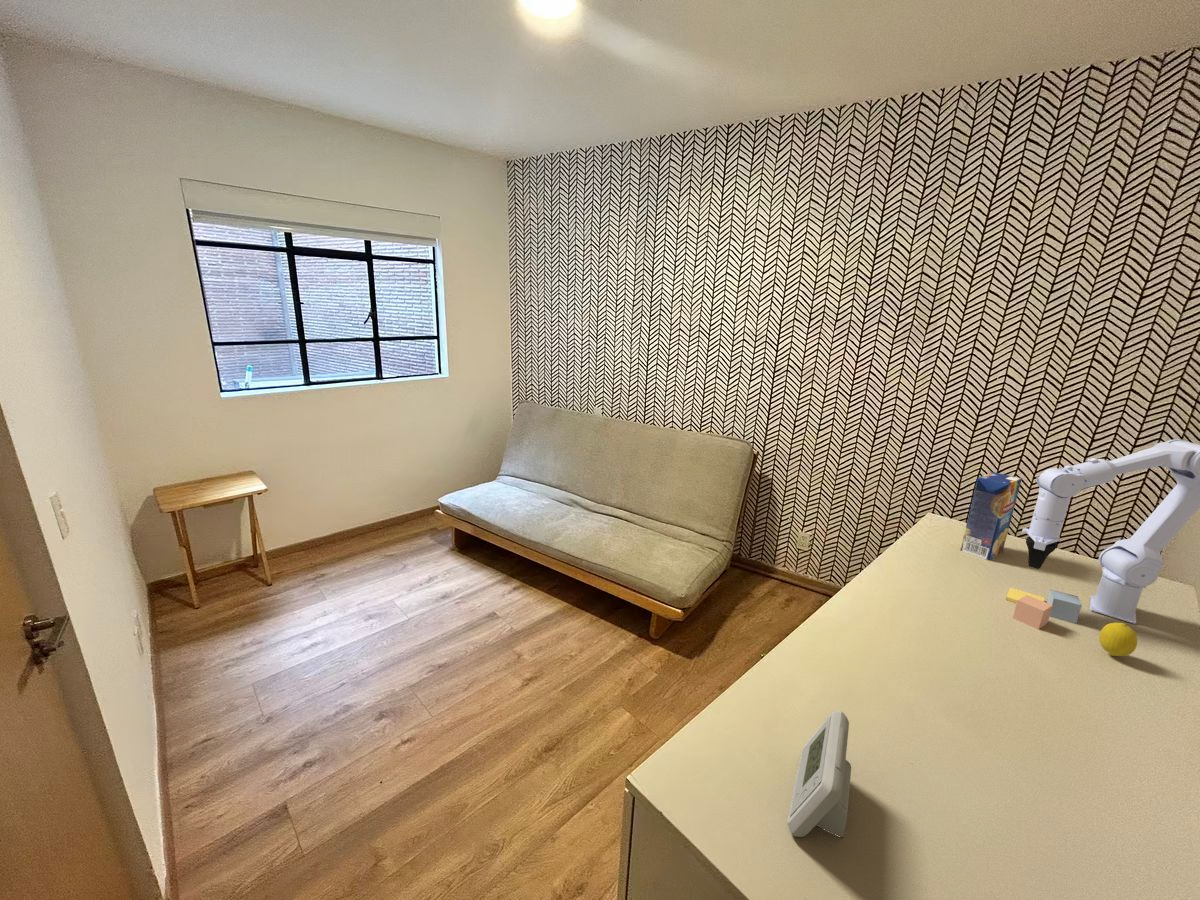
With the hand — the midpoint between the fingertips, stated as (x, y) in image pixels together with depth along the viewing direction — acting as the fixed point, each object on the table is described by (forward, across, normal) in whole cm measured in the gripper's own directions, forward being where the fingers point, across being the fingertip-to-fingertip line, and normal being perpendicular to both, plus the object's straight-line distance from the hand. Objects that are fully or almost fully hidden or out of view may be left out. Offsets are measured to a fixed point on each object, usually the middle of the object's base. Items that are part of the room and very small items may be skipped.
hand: (1034, 567), depth 125 cm
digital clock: (+10, +95, -15) cm, 97 cm away
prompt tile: (+9, 0, 0) cm, 9 cm away
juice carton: (+10, -27, -13) cm, 31 cm away
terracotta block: (+10, +11, +2) cm, 15 cm away
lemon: (+10, +14, +16) cm, 24 cm away
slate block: (+10, +2, +7) cm, 12 cm away
